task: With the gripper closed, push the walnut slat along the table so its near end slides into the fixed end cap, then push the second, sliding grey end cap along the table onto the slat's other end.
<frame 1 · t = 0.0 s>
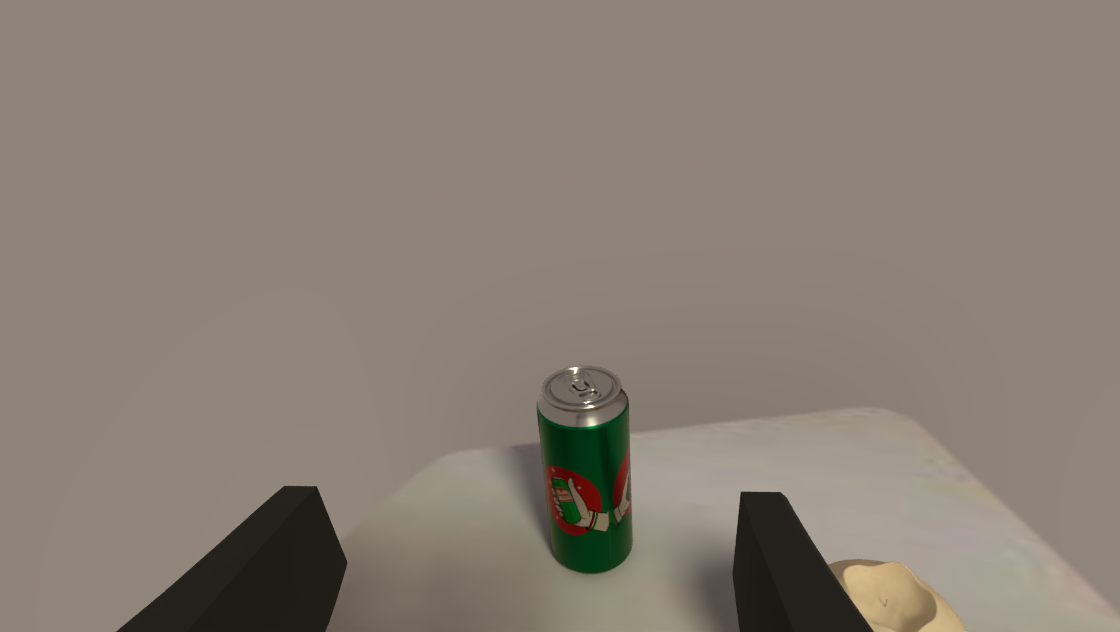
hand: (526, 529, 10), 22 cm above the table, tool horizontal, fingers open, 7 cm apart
soda can: (592, 549, 38), on the table
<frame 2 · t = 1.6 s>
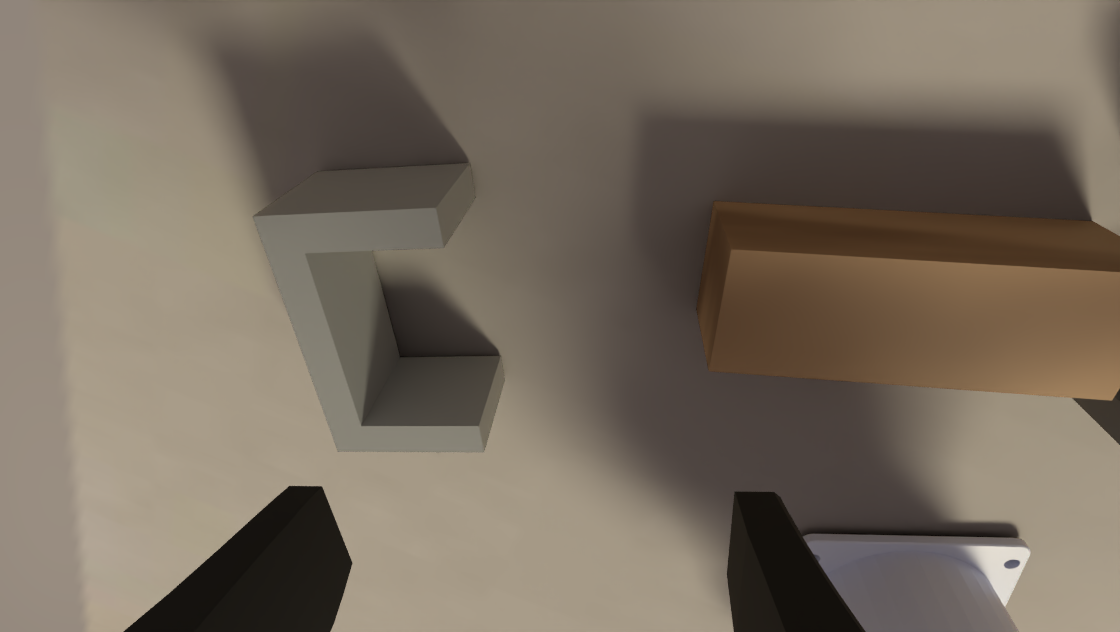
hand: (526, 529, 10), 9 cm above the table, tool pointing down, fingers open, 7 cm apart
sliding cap: (401, 312, 17), point 2 cm above the table, slide at 0.0 cm
slat: (876, 264, 17), on the table
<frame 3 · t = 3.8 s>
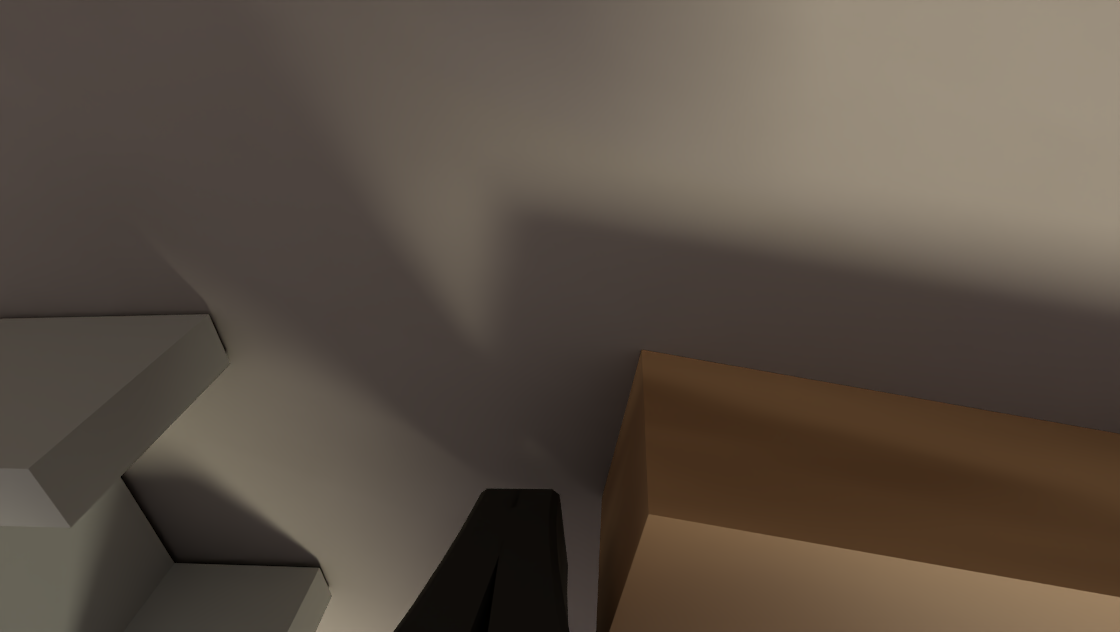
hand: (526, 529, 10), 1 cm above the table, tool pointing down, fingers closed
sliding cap: (112, 549, 11), point 2 cm above the table, slide at 0.0 cm
slat: (896, 472, 11), on the table, touching gripper
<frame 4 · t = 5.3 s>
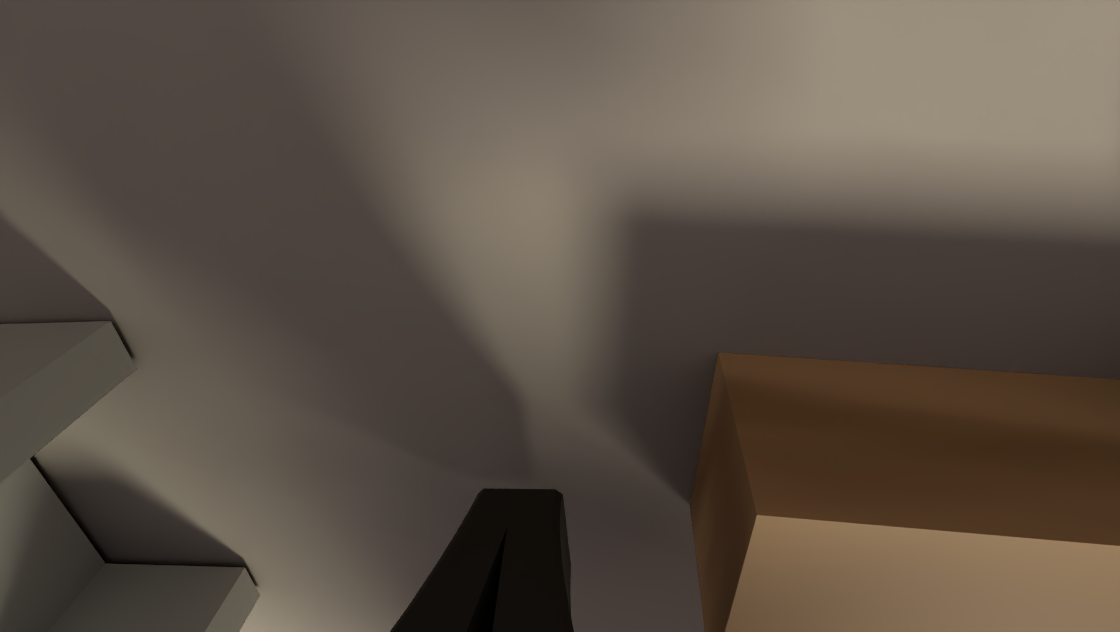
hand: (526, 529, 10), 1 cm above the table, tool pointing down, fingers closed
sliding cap: (24, 550, 11), point 2 cm above the table, slide at 0.0 cm
slat: (994, 448, 10), on the table
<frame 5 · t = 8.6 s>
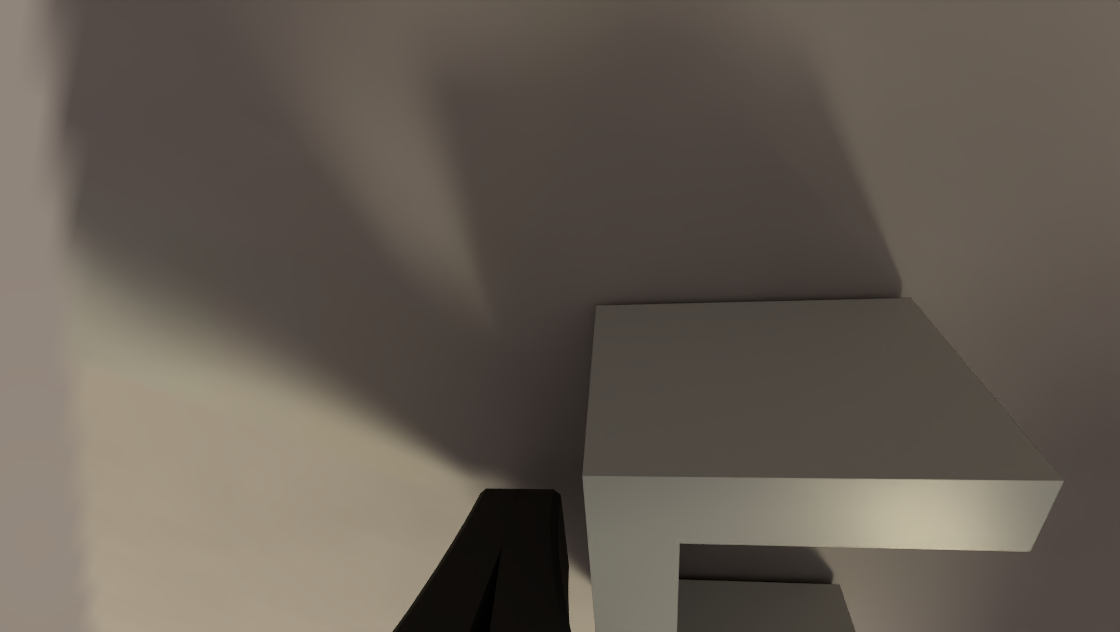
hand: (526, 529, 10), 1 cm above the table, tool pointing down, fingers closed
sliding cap: (749, 569, 9), point 2 cm above the table, slide at 0.4 cm, touching gripper
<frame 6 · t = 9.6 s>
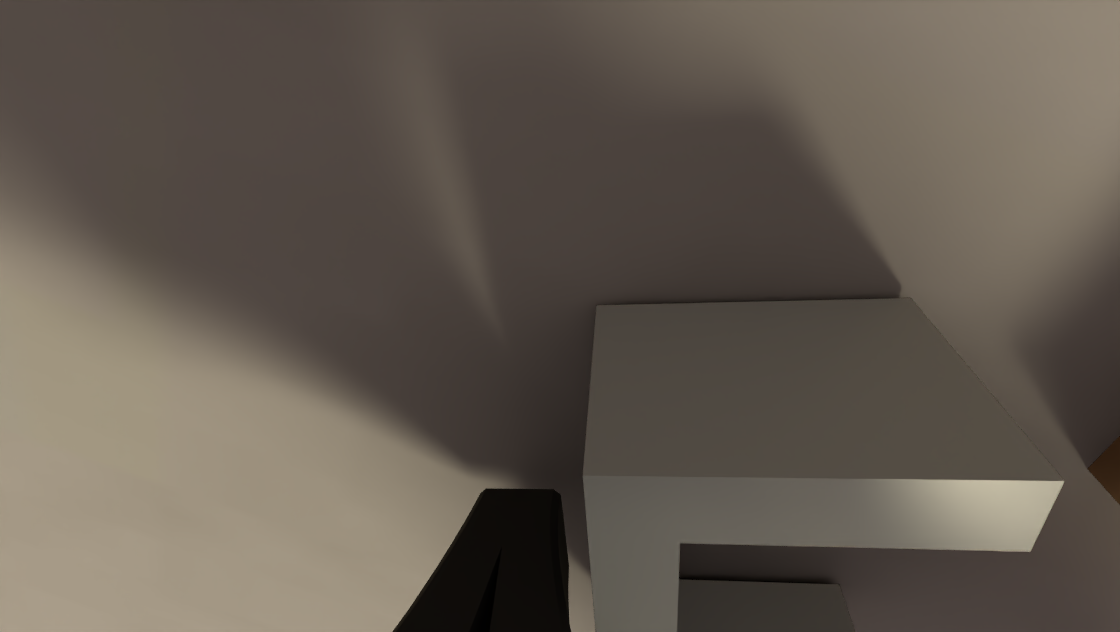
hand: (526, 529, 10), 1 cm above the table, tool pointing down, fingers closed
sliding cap: (749, 568, 9), point 2 cm above the table, slide at 6.1 cm, touching gripper
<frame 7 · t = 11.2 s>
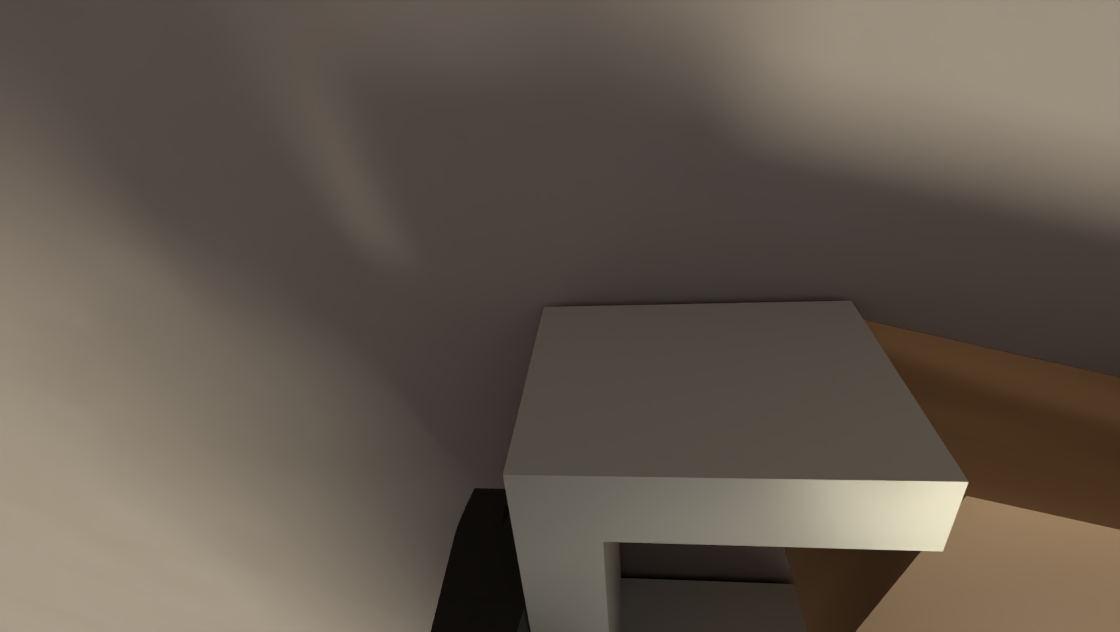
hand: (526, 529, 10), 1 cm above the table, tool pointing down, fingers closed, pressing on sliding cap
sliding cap: (695, 568, 9), point 2 cm above the table, slide at 10.7 cm, touching gripper, slat
slat: (1095, 469, 10), on the table, touching fixed cap, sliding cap
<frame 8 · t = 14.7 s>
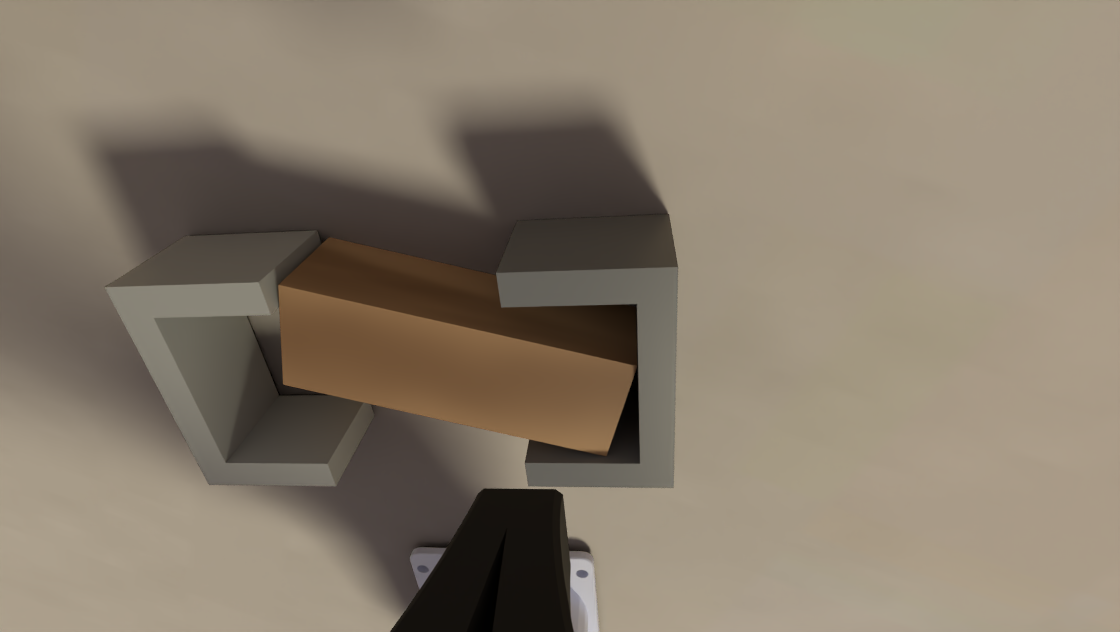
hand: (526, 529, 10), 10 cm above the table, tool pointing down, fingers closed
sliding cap: (261, 362, 19), point 2 cm above the table, slide at 10.7 cm
fixed cap: (598, 325, 20), on the table
slat: (477, 314, 20), on the table
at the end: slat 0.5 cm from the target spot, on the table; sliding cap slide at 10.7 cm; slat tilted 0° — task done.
